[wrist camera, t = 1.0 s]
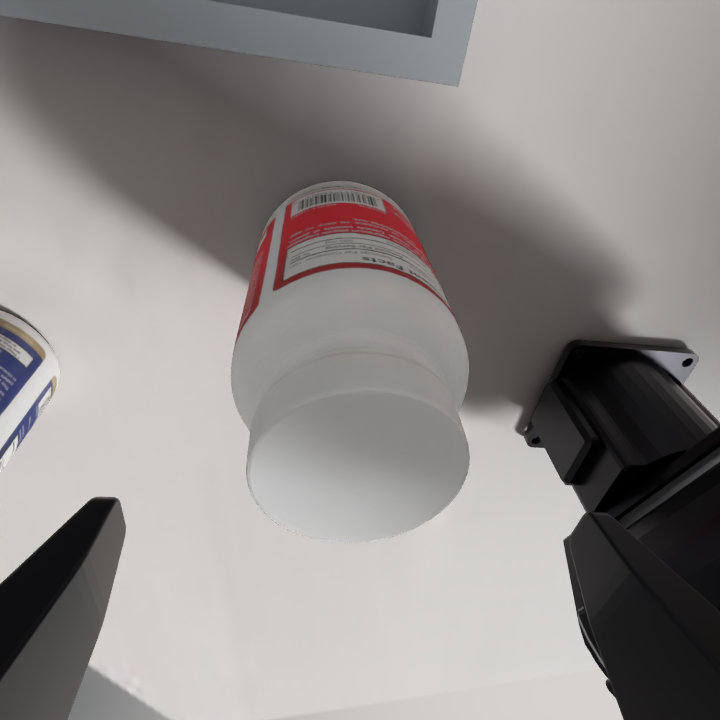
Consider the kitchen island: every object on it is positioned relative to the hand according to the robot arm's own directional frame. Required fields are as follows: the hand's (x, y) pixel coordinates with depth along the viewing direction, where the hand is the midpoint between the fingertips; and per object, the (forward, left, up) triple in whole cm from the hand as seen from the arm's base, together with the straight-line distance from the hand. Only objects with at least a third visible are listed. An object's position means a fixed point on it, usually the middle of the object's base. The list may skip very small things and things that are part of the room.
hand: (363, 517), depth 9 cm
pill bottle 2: (0, 0, -12) cm, 12 cm away
